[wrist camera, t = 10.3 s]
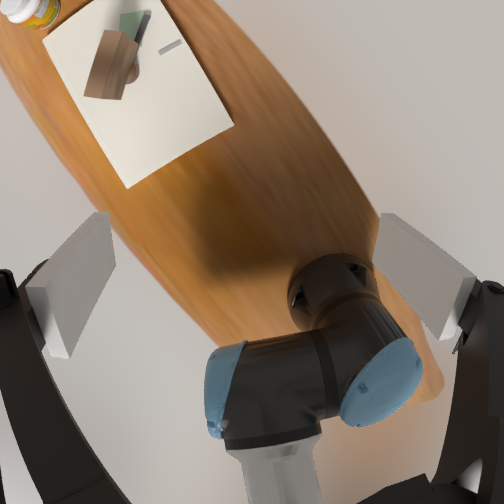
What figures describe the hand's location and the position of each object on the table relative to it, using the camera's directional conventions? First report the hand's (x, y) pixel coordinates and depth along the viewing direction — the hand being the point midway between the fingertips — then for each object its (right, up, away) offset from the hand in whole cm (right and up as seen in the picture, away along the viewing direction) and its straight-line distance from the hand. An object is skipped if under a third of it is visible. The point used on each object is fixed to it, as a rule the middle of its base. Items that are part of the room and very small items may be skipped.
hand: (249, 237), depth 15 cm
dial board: (-15, +22, +20) cm, 33 cm away
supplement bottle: (-29, +33, +13) cm, 46 cm away
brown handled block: (-14, +23, +17) cm, 32 cm away
